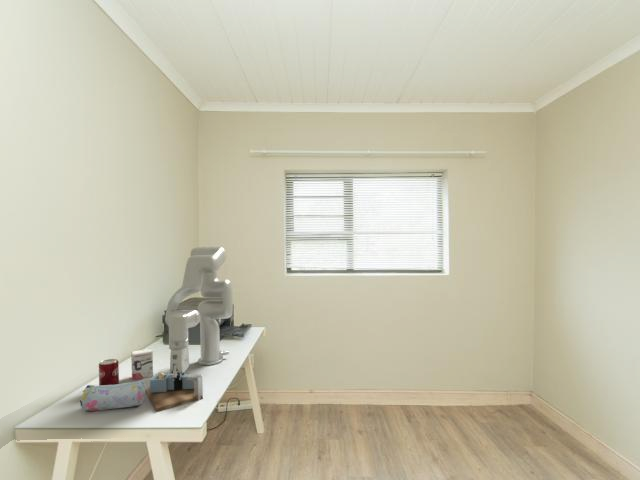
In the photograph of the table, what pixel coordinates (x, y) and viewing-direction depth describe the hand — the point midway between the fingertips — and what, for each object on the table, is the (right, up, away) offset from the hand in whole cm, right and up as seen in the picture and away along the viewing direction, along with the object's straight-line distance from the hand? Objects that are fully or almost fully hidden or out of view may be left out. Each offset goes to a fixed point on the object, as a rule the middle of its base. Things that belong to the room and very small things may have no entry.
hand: (179, 387), depth 147 cm
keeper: (+8, -2, -6) cm, 11 cm away
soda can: (-32, -3, +4) cm, 32 cm away
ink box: (-24, -3, +18) cm, 30 cm away
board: (-2, -2, -3) cm, 4 cm away
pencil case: (-20, -3, -12) cm, 24 cm away
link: (-1, 0, 0) cm, 1 cm away
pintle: (-7, -2, -1) cm, 8 cm away
